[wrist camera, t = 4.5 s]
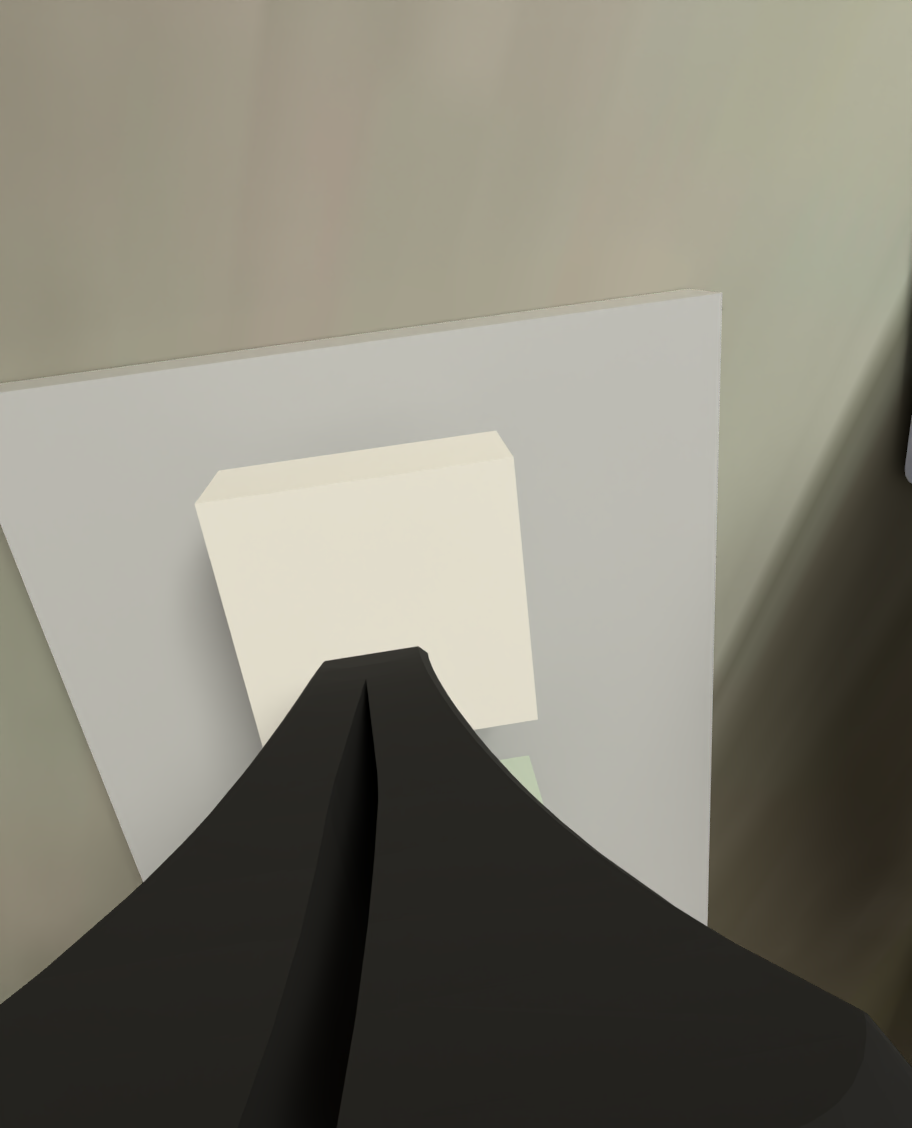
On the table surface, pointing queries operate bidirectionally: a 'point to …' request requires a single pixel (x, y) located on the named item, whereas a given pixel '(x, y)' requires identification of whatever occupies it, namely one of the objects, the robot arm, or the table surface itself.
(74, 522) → the keyboard base
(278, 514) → the ivory key
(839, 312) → the table surface
